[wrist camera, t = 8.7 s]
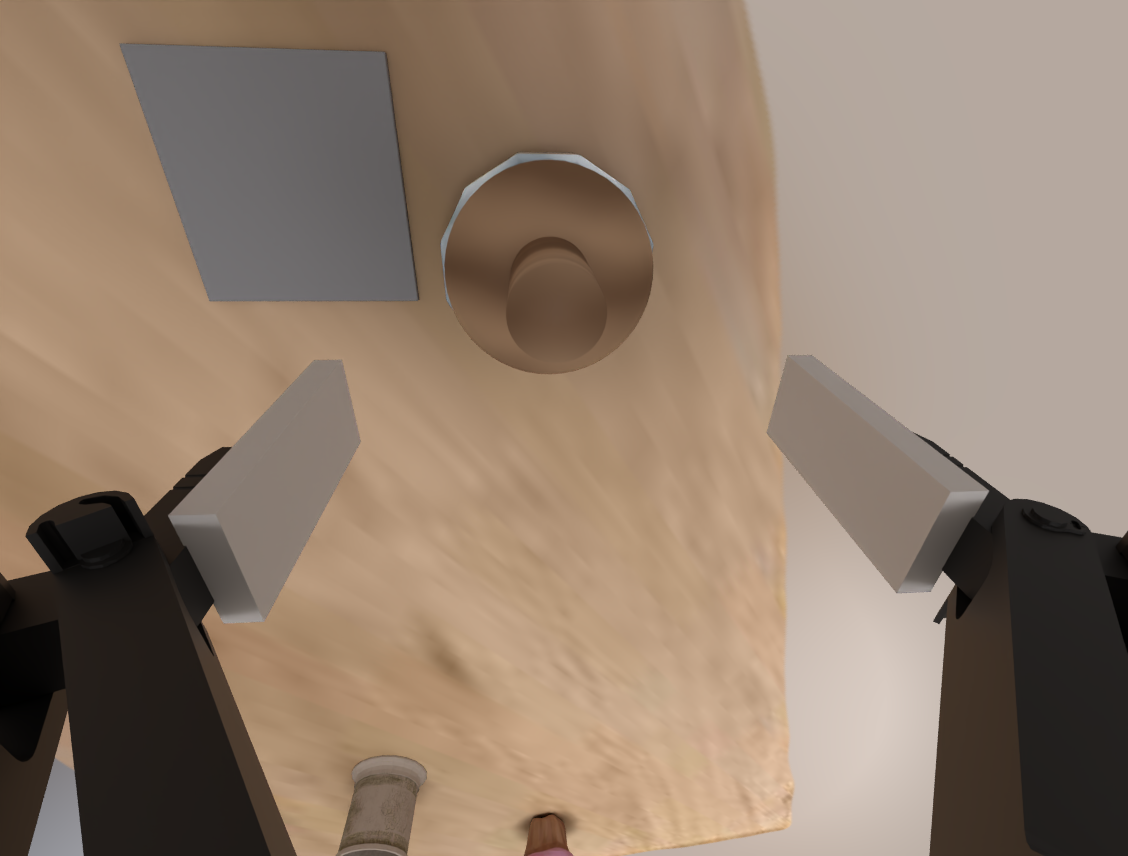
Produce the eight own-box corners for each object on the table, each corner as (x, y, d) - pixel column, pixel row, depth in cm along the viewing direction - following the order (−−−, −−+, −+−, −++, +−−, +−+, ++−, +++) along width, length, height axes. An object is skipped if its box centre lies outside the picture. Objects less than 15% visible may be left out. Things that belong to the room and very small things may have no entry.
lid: (437, 157, 26) (402, 164, 19) (658, 161, 27) (707, 169, 20) (457, 365, 32) (437, 432, 25) (638, 363, 33) (669, 427, 26)
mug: (379, 747, 63) (351, 865, 53) (441, 770, 67) (426, 884, 57) (319, 792, 68) (283, 908, 58) (380, 811, 72) (356, 923, 62)
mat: (124, 44, 27) (119, 43, 26) (386, 53, 28) (384, 51, 27) (212, 299, 34) (209, 301, 34) (418, 299, 35) (417, 300, 34)
